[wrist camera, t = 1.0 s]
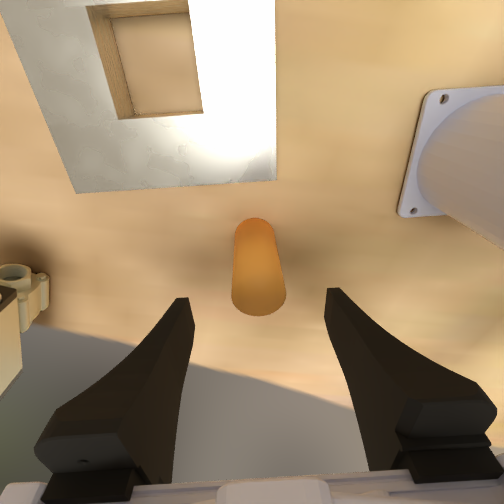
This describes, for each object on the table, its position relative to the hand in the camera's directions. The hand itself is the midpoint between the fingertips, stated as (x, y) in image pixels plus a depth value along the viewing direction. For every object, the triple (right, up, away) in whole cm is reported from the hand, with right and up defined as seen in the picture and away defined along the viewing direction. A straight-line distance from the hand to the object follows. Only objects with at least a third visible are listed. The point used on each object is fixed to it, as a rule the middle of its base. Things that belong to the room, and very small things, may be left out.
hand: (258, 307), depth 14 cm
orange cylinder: (0, +4, +7) cm, 8 cm away
